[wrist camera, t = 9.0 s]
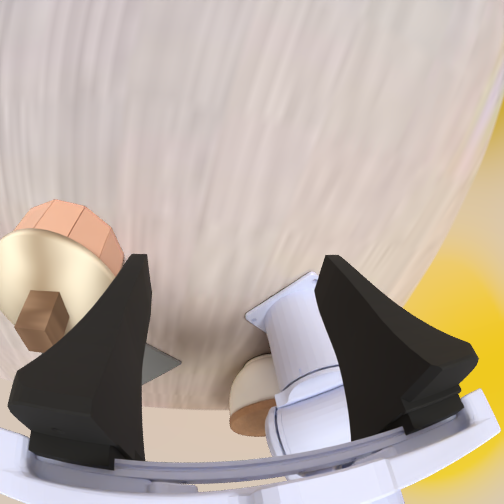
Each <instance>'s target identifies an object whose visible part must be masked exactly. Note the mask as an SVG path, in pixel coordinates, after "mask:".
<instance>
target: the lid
mask: <svg viewBox="0 0 504 504" xmlns="http://www.w3.org/2000/svg"><path fill="white" fill-rule="evenodd" d="M114 278H115V276H114V274H113V273H112V272H111V270H110V269H109V268H108V267H107V266H106V265H105V264H104V263H103V262H102V261H101V260H100V259H99V258H98V257H97V256H96V255H95V254H94V253H92V252H91V251H90V250H88V249H87V248H86V247H84V246H83V245H81V244H80V243H78V242H76V241H74V240H72V239H71V238H68V237H66V236H64V235H61V234H59V233H56V232H52V231H49V230H44V229H36V228H26V229H19V230H16V231H12V232H10V233H8V234H7V235H5V236H4V237H3V238H1V239H0V310H1V311H2V313H3V314H4V315H5V316H6V317H7V318H8V319H9V320H10V321H11V322H12V323H13V324H14V325H15V326H14V328H15V329H16V331H17V333H18V334H19V336H20V337H21V339H22V341H23V342H24V344H25V345H26V347H27V348H28V350H29V351H34V352H41V353H44V352H46V351H47V350H48V349H49V348H51V347H52V346H53V345H54V344H56V343H57V342H58V341H59V340H60V339H61V338H63V337H64V336H65V335H66V334H67V333H68V332H69V331H70V330H71V329H72V328H73V327H74V326H75V325H76V324H77V323H78V322H79V321H80V320H81V319H82V318H83V317H84V316H85V315H86V314H87V312H88V311H89V310H90V309H91V308H92V307H93V306H94V304H95V303H96V302H97V301H98V299H99V298H100V297H101V296H102V294H103V293H104V292H105V291H106V289H107V288H108V286H109V285H110V284H111V282H112V281H113V280H114Z"/></svg>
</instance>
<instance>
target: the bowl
mask: <svg viewBox="0 0 504 504" xmlns="http://www.w3.org/2000/svg"><path fill="white" fill-rule="evenodd" d="M26 228H36V229H44V230H49V231H52V232H56V233H59V234H61V235H64V236H66V237H68V238H71V239H72V240H74V241H76V242H78V243H80V244H81V245H83V246H84V247H86V248H87V249H88V250H90V251H91V252H92V253H94V254H95V255H96V256H97V257H98V258H99V259H100V260H101V261H102V262H103V263H104V264H105V265H106V266H107V267H108V268H109V269H110V270H111V272H112V273H113V274H114V276H115V277H116V276H117V274H118V273H119V271H120V270H121V268H122V265H123V258H124V254H123V251H122V249H121V247H120V245H119V243H118V241H117V239H116V236H115V234H114V232H113V230H112V228H111V227H110V226H109V225H108V224H106V223H105V222H104V221H103V220H101V219H100V218H99V217H98V216H97V215H95V214H94V213H93V212H92V211H90V210H89V209H88V208H87V207H85V206H82V205H77V204H73V203H69V202H64V201H60V200H52V201H49V202H47V203H44V204H41V205H39V206H36V207H34V208H31V209H30V210H29V211H28V213H27V214H26V215H25V216H24V218H23V219H22V220H21V222H20V223H19V224H18V226H17V227H16V228H15V230H14V231H16V230H19V229H26Z"/></svg>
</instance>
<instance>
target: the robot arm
mask: <svg viewBox="0 0 504 504" xmlns="http://www.w3.org/2000/svg"><path fill="white" fill-rule="evenodd" d="M314 279H315V280H314ZM313 280H314V281H313ZM151 299H152V290H151V282H150V275H149V267H148V259H147V254H132V255H131V256H130V257H129V258H128V260H127V261H126V263H125V264H124V265H123V267H122V268H121V270H120V271H119V273H118V274H117V276H116V277H115V278H114V280H113V281H112V282H111V284H110V285H109V286H108V288H107V289H106V291H105V292H104V293H103V294H102V296H101V297H100V298H99V299H98V301H97V302H96V303H95V304H94V306H93V307H92V308H91V309H90V310H89V311H88V312H87V314H86V315H85V316H84V317H83V318H82V319H81V320H80V321H79V322H78V323H77V324H76V325H75V326H74V327H73V328H72V329H71V330H70V331H69V332H68V333H67V334H66V335H65V336H64V337H63V338H61V339H60V340H59V341H58V342H57V343H56V344H54V345H53V346H52V347H51V348H49V349H48V350H47V351H46V352H44V353H43V354H42V355H40V356H39V357H38V358H36V359H35V360H33V361H32V362H30V363H29V364H27V365H26V366H24V367H23V368H21V369H19V370H18V371H17V373H16V376H15V378H14V381H13V385H12V389H11V393H10V397H9V402H8V408H9V410H10V412H11V413H12V414H13V415H14V416H15V417H16V418H17V419H18V420H19V421H20V422H22V423H23V424H24V425H25V426H26V427H28V428H29V429H30V430H31V435H30V438H29V437H27V436H25V435H22V434H20V433H16V432H13V431H10V430H6V429H3V428H0V493H1V494H4V495H6V496H8V497H11V498H13V499H16V500H19V501H21V502H24V503H27V504H404V499H403V496H402V493H401V490H400V489H402V488H404V487H407V486H409V485H411V484H413V483H415V482H417V481H420V480H422V479H424V478H425V477H428V476H430V475H431V474H433V473H435V472H437V471H439V470H441V469H443V468H444V467H446V466H448V465H450V464H452V463H453V462H455V461H457V460H458V459H460V458H462V457H463V456H465V455H466V454H468V453H469V452H471V451H473V450H474V449H476V448H477V447H479V446H480V445H482V444H483V443H485V442H486V441H488V440H489V439H491V438H492V437H494V436H495V435H496V434H498V433H499V432H500V431H501V429H500V427H499V425H498V422H497V420H496V418H495V416H494V414H493V412H492V410H491V407H490V405H489V403H488V401H487V399H486V397H485V395H484V393H483V391H482V390H481V389H477V390H475V391H473V392H471V393H469V394H467V395H465V396H464V397H462V398H461V399H460V397H459V395H458V393H460V392H461V388H460V386H459V383H460V382H461V381H462V380H463V379H464V378H465V377H466V376H467V375H468V374H469V373H470V372H471V371H472V370H473V369H474V368H475V366H476V365H477V363H478V359H479V358H478V356H477V355H476V353H475V351H474V349H473V348H472V346H471V344H470V343H468V342H465V341H463V340H460V339H458V338H455V337H453V336H450V335H448V334H446V333H444V332H442V331H440V330H437V329H436V328H434V327H432V326H430V325H428V324H427V323H425V322H423V321H422V320H420V319H418V318H416V317H415V316H413V315H412V314H410V313H409V312H407V311H406V310H405V309H403V308H402V307H400V306H399V305H397V304H396V303H395V302H393V301H392V300H391V299H390V298H388V297H387V296H386V295H385V294H383V293H382V292H381V291H380V290H379V289H377V288H376V287H375V286H374V285H373V284H372V283H370V282H369V281H368V280H367V279H366V278H365V277H364V276H363V275H361V274H360V273H359V272H358V271H357V270H356V269H355V268H354V267H352V266H351V265H350V264H349V263H348V262H347V261H345V260H344V259H343V258H342V257H340V256H339V255H325V259H324V262H323V265H322V268H321V271H320V274H319V276H318V275H317V274H316V273H315V272H309V273H307V274H306V275H304V276H303V277H301V278H300V279H298V280H297V281H295V282H294V283H292V284H291V285H289V286H288V287H286V288H285V289H283V290H282V291H280V292H279V293H277V294H276V295H274V296H272V297H271V298H269V299H268V300H266V301H265V302H263V303H262V304H260V305H258V306H257V307H255V308H254V309H252V310H251V311H249V312H247V313H246V314H245V317H246V320H248V321H249V322H250V323H252V324H253V325H255V326H256V327H258V328H259V329H261V330H262V331H264V332H265V333H267V336H268V341H269V345H270V350H271V354H272V359H273V363H274V367H275V372H276V376H277V381H278V385H279V390H280V393H278V394H275V395H274V396H275V401H276V405H277V406H274V407H271V408H270V410H269V412H268V415H267V417H266V420H265V434H266V439H267V443H268V446H269V449H270V452H271V455H272V457H269V458H260V459H250V460H240V461H226V462H202V463H201V462H200V463H172V462H148V461H145V454H144V443H143V428H142V367H143V358H144V352H145V345H146V339H147V333H148V327H149V321H150V315H151ZM253 318H254V319H253ZM282 476H285V477H286V479H287V481H284V482H278V483H272V484H266V485H260V486H253V487H247V488H239V489H231V490H221V491H209V492H198V489H197V487H196V486H195V485H185V484H208V483H228V482H241V481H251V480H260V479H268V478H275V477H282Z"/></svg>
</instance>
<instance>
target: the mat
mask: <svg viewBox="0 0 504 504" xmlns="http://www.w3.org/2000/svg"><path fill="white" fill-rule="evenodd" d="M42 354H43V353H42ZM180 364H182V363H181V361H179V360H177V359H175V358H173V357H171V356H169V355H167V354H165V353H164V352H162V351H160V350H158V349H156V348H154V347H152V346H150V345H149V344H147V343H146V345H145V352H144V358H143V367H142V385H143V384H145V383H147V382H149V381H151V380H153V379H155V378H156V377H158V376H160V375H162V374H164V373H166V372H168V371H169V370H171V369H173V368H175V367H177V366H178V365H180Z"/></svg>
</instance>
